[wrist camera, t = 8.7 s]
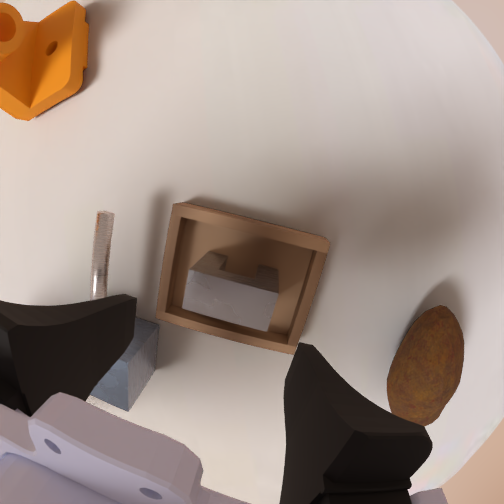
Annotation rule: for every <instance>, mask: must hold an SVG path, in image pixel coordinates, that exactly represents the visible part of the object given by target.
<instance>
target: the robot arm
mask: <svg viewBox="0 0 504 504" xmlns="http://www.w3.org/2000/svg"><path fill="white" fill-rule="evenodd" d="M136 303H137V298H135V297H132V296H129V295H126V294H121V295H115V296H110V297H105V298H101V299H96V300H92V301H86V302H80V303H75V304H68V305H56V306H34V305H22V304H15V303H9V302H4V301H0V504H250V503H247V502H244V501H241V500H238V499H235V498H232V497H229V496H226V495H224V494H221V493H218V492H216V491H213V490H211V489H208V488H206V487H203V486H201V484H200V481H201V477H202V474H203V468H202V464H201V461H200V458H199V457H197V456H196V455H195V454H194V453H193V452H192V451H191V450H190V449H189V448H188V447H186V446H185V445H184V444H183V443H180V442H178V441H176V440H174V439H172V438H170V437H168V436H166V435H164V434H161V433H158V432H155V431H152V430H150V429H147V428H144V427H142V426H139V425H137V424H134V423H132V422H129V421H127V420H124V419H122V418H120V417H117V416H115V415H113V414H110V413H108V412H106V411H104V410H102V409H100V408H97V407H95V406H93V405H91V404H89V403H87V402H85V401H86V400H87V398H88V396H89V395H90V393H91V392H92V390H93V389H94V387H95V386H96V385H97V384H98V382H99V381H100V380H101V379H102V378H103V376H104V375H105V374H106V373H107V372H108V371H109V370H110V369H111V367H112V366H113V365H114V364H115V363H116V362H117V361H118V359H119V358H120V357H121V356H122V355H123V354H124V352H125V351H126V349H127V348H128V346H129V344H130V343H131V341H132V340H133V338H134V328H135V315H136ZM284 413H285V429H286V454H285V466H284V475H283V484H282V491H281V498H280V504H448V503H447V500H446V498H445V495H444V493H443V490H442V488H437V489H432V490H427V491H421V492H418V493H415V494H413V495H411V496H409V493H408V490H407V489H410V488H411V486H412V484H411V481H410V477H411V476H412V475H413V474H414V473H415V472H416V471H417V470H418V469H419V468H420V467H421V466H422V464H423V463H424V462H425V461H426V459H427V458H428V457H429V455H430V453H431V451H432V441H431V439H430V437H429V435H428V433H427V431H426V429H425V427H424V426H422V425H419V424H417V423H414V422H411V421H408V420H405V419H403V418H400V417H398V416H396V415H394V414H392V413H390V412H388V411H386V410H384V409H382V408H381V407H379V406H377V405H376V404H374V403H373V402H371V401H369V400H368V399H367V398H365V397H364V396H362V395H361V394H360V393H359V392H357V391H356V390H355V389H354V388H352V387H351V386H350V385H349V384H348V383H347V382H346V381H345V380H344V379H343V378H342V377H341V376H340V375H339V374H338V373H337V372H336V371H335V370H334V369H333V368H332V366H331V365H330V364H329V363H328V362H327V361H326V359H325V358H324V357H323V356H322V355H321V354H320V352H319V351H318V350H317V349H316V348H315V347H314V346H313V345H310V344H305V343H300V342H299V344H298V347H297V350H296V352H295V355H294V358H293V360H292V363H291V366H290V368H289V371H288V373H287V376H286V379H285V387H284Z"/></svg>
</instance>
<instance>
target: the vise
mask: <svg viewBox="0 0 504 504" xmlns="http://www.w3.org/2000/svg"><path fill="white" fill-rule="evenodd" d="M114 215H115V214H114V213H112V212H108V211H97V216H96V224H95V233H94V243H93V255H92V270H91V294H90V301H92V300H96V299H101V298H105V297H107V281H108V268H109V257H110V247H111V238H112V230H113V222H114ZM158 333H159V325H157V324H154V323H151V322H148V321H146V320H143V319H140V318H137V317H135V328H134V338H133V340H132V341H131V343H130V344H129V346H128V348H127V349H126V351H125V352H124V354H123V355H122V356H121V357H120V358H119V359H118V361H117V362H116V363H115V364H114V365H113V366H112V367H111V369H110V370H109V371H108V372H107V373H106V374H105V375H104V376H103V378H102V379H101V380H100V381H99V382H98V384H97V385H96V386H95V387H94V389H93V390H92V392H91V393H90V395H92V396H94V397H96V398H98V399H100V400H103V401H105V402H107V403H109V404H111V405H114V406H116V407H118V408H121V409H123V410H125V411H128V412H129V410H130V409H131V407H132V406H133V404H134V403H135V401H136V399H137V398H138V396H139V395H140V393H141V392H142V390H143V388H144V387H145V385H146V384H147V382H148V381H149V379H150V378H151V376H152V375H153V373H154V371H155V364H156V353H157V343H158Z"/></svg>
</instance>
